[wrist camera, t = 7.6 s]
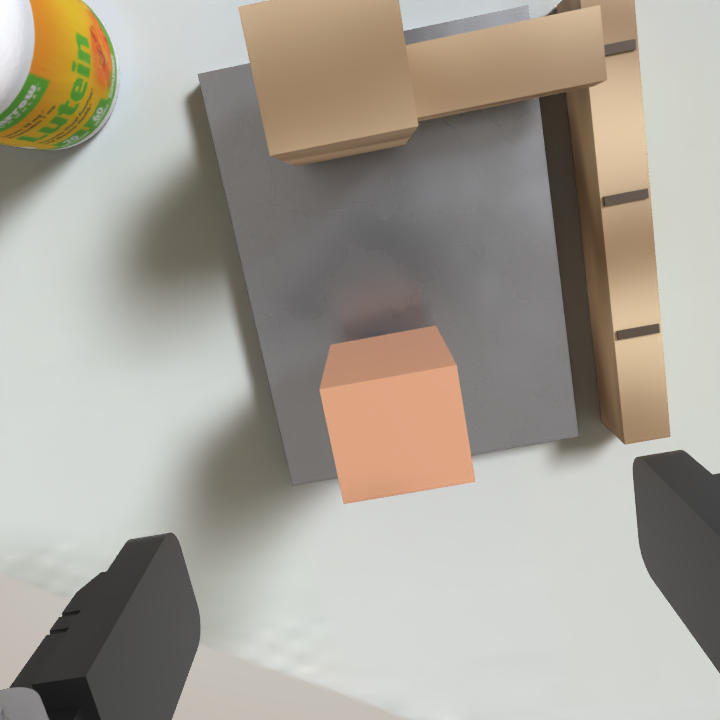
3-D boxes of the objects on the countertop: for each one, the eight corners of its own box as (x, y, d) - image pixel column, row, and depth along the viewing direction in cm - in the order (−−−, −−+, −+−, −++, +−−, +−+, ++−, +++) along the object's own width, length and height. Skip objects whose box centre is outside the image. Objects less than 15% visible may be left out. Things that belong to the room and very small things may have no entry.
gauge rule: (282, 63, 23) (234, -13, 15) (604, -4, 22) (744, -123, 14) (363, 463, 26) (360, 584, 18) (643, 414, 26) (773, 518, 17)
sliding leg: (333, 333, 24) (319, 389, 17) (430, 315, 23) (456, 364, 17) (350, 417, 24) (343, 504, 17) (444, 401, 24) (475, 481, 17)
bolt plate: (204, 79, 23) (197, 73, 22) (520, 13, 22) (528, 4, 21) (295, 474, 26) (292, 486, 25) (570, 427, 26) (579, 437, 25)
